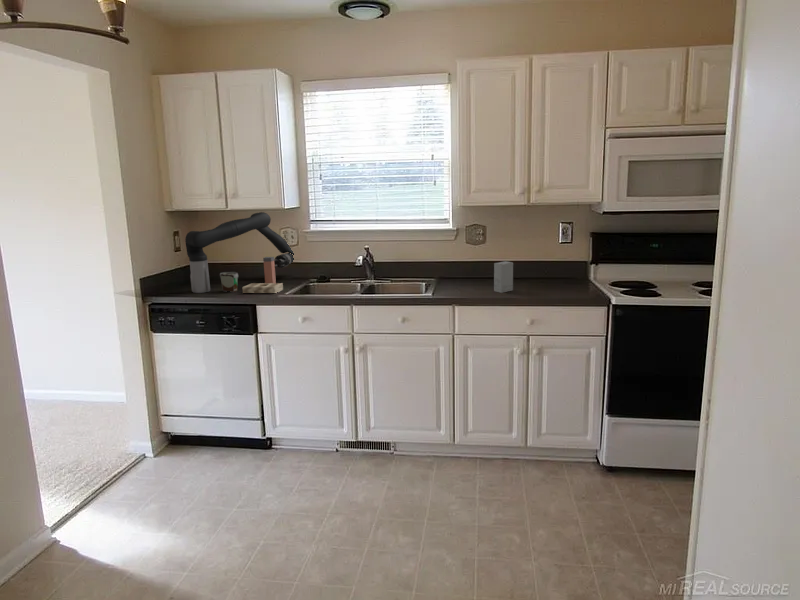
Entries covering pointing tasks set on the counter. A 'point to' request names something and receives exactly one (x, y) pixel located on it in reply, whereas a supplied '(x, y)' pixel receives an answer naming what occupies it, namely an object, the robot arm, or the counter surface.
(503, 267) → the skincare box
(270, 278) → the pink tall block
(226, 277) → the food container
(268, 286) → the beige rectangular block
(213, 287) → the counter surface
